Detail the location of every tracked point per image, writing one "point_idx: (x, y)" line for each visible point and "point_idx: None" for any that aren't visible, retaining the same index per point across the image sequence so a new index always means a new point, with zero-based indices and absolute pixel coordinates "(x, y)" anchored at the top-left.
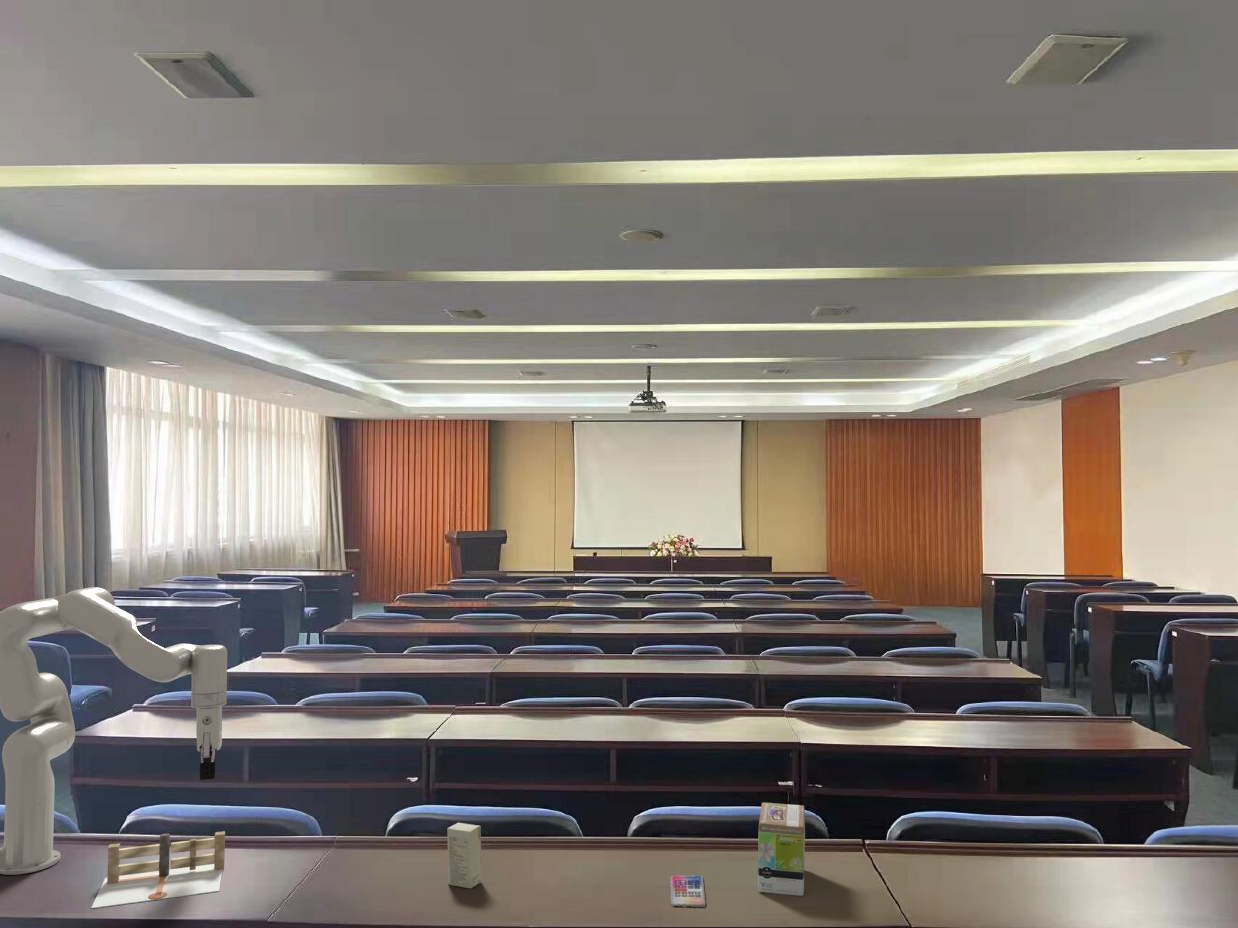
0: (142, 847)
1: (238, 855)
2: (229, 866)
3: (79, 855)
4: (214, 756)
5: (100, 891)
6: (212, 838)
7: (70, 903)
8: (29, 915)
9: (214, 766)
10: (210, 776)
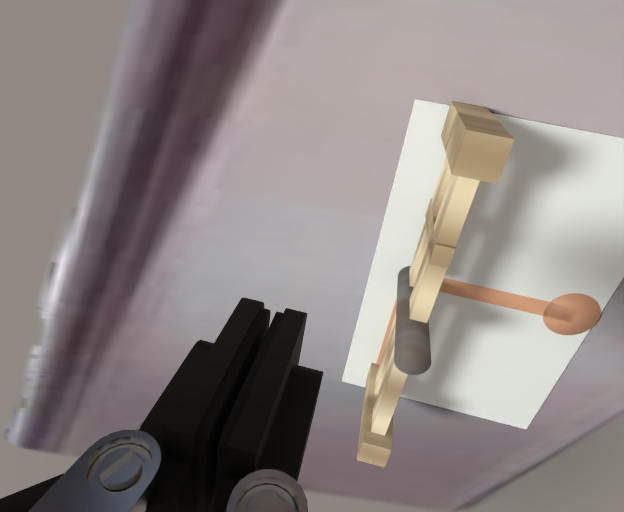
0: (400, 390)
1: (355, 28)
2: (457, 80)
3: (163, 391)
4: (95, 451)
5: (429, 401)
6: (465, 183)
7: (455, 445)
8: (469, 495)
9: (275, 400)
10: (297, 351)
